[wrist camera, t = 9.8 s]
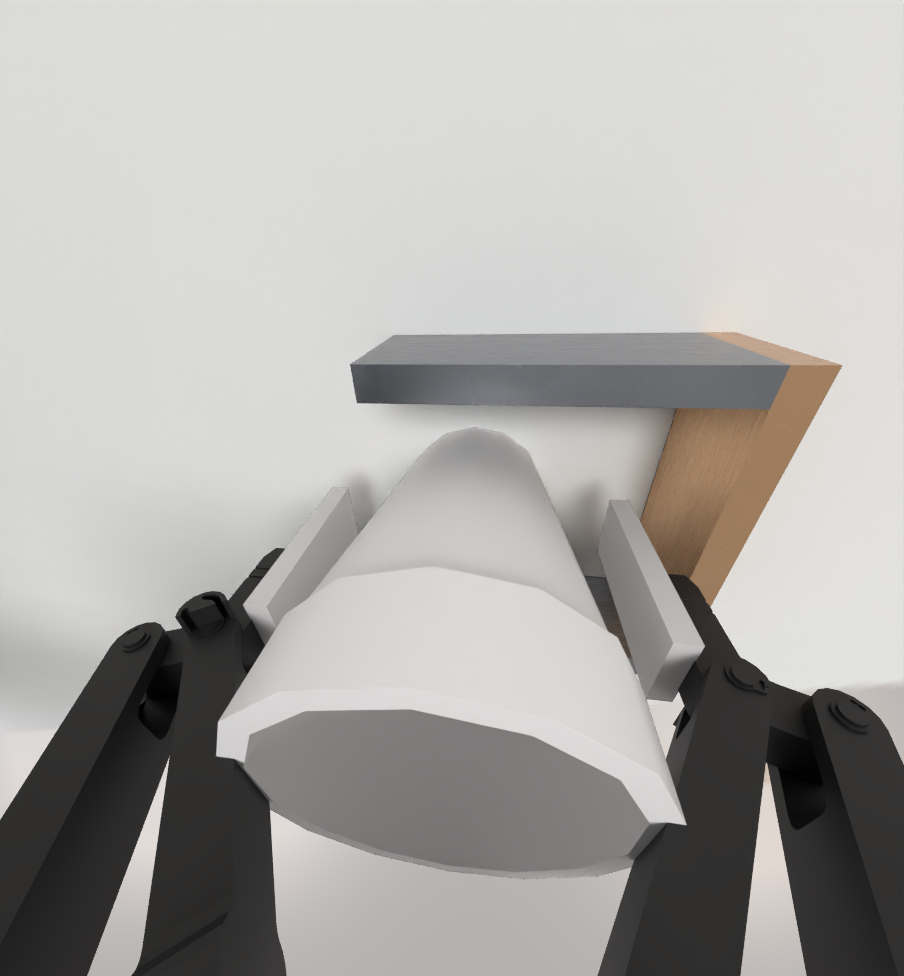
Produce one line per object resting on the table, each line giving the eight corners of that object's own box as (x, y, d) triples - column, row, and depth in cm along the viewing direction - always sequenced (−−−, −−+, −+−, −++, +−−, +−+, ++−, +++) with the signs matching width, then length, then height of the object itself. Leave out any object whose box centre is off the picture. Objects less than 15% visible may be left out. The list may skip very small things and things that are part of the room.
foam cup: (559, 556, 20) (622, 900, 9) (401, 550, 21) (295, 846, 11) (581, 392, 15) (776, 722, 4) (373, 396, 16) (118, 659, 6)
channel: (419, 578, 23) (400, 650, 18) (393, 335, 15) (350, 364, 11) (638, 594, 21) (671, 677, 17) (736, 332, 13) (842, 364, 9)
